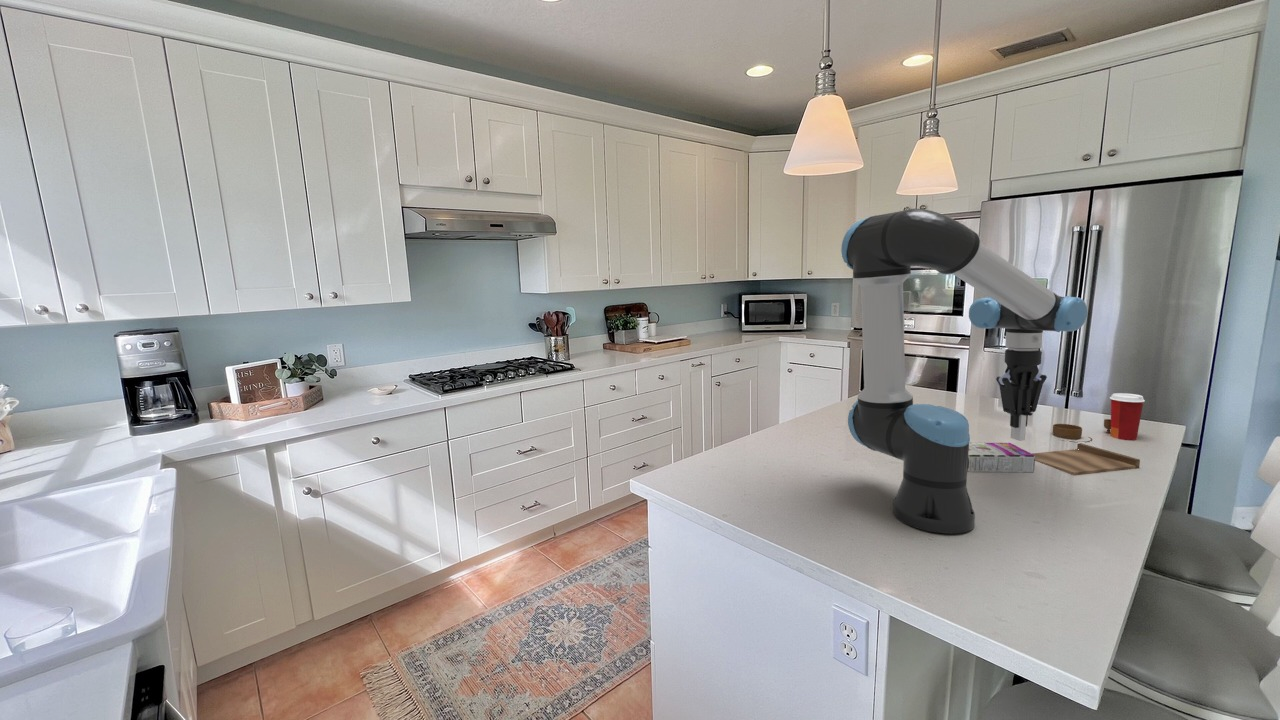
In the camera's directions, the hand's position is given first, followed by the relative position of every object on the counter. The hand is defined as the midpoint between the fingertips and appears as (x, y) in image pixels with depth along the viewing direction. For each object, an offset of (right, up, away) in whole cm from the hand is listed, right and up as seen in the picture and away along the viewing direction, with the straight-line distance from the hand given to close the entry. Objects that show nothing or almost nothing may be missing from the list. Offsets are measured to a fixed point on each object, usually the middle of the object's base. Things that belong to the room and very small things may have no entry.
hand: (1017, 439), depth 134 cm
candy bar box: (+3, -5, +3) cm, 7 cm away
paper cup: (+48, -4, +22) cm, 53 cm away
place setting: (+37, -5, +23) cm, 44 cm away
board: (+19, -7, +4) cm, 21 cm away
